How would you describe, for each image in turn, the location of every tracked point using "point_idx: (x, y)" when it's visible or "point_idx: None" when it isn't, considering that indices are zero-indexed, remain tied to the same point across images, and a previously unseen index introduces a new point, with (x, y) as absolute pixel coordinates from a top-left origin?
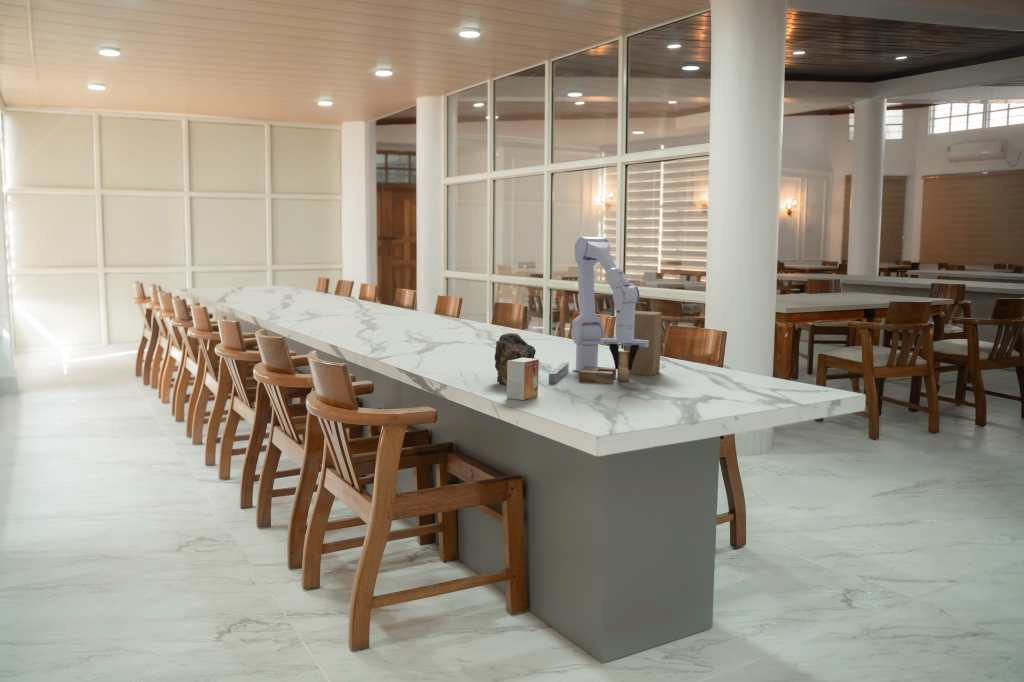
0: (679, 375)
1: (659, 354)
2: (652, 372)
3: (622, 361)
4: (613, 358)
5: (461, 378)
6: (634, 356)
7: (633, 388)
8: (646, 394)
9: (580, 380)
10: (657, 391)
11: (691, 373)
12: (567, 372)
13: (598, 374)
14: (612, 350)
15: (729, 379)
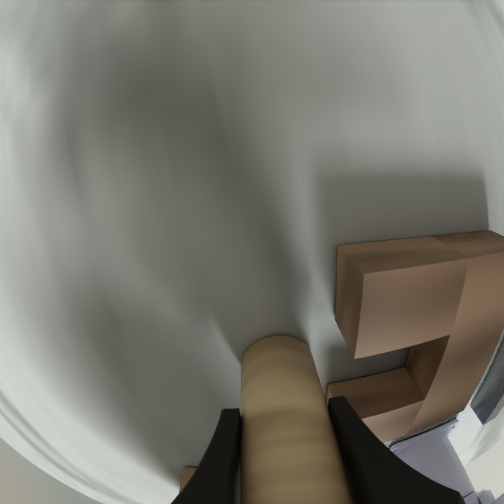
0: (124, 474)
1: None
2: (183, 476)
3: (299, 447)
4: (388, 448)
5: None
6: (179, 495)
7: (150, 127)
8: (69, 5)
9: (489, 233)
10: (24, 118)
11: (117, 487)
12: (478, 393)
13: (446, 256)
14: (431, 497)
15: (18, 431)
